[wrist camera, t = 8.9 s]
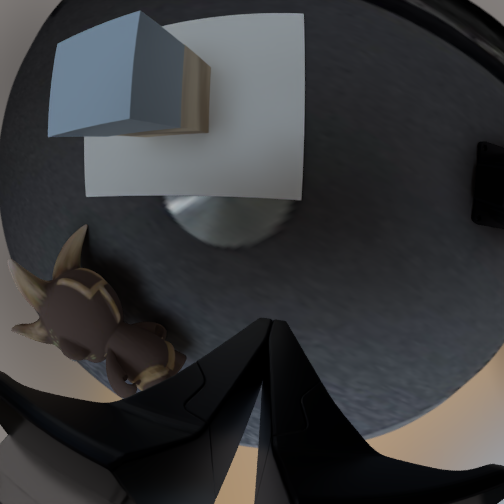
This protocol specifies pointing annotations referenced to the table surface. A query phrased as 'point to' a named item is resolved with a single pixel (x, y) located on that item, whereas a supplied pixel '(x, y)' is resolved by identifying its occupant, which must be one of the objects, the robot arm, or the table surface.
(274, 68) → the board
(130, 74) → the blue block
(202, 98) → the maple block
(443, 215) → the table surface
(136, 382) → the toy
